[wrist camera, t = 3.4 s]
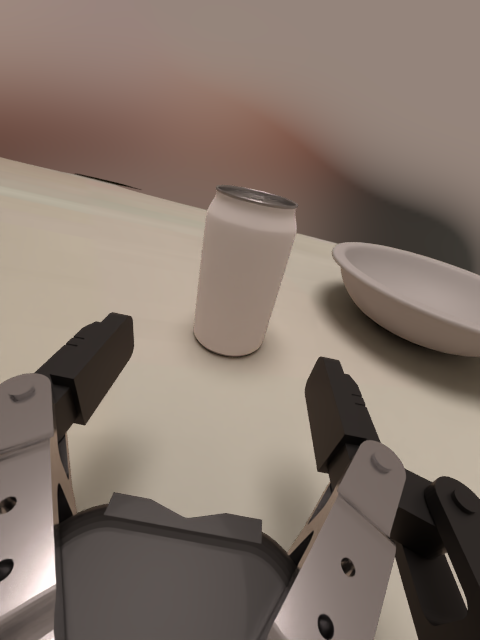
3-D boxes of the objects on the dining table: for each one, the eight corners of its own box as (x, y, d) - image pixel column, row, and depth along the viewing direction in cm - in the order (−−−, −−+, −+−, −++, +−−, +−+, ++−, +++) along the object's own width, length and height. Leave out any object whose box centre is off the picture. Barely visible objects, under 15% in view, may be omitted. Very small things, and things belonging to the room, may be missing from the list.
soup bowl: (381, 402, 20) (431, 337, 17) (290, 274, 40) (304, 231, 36) (582, 403, 26) (652, 355, 22) (415, 290, 45) (438, 254, 41)
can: (260, 322, 26) (296, 198, 20) (263, 365, 21) (314, 214, 15) (198, 311, 26) (215, 180, 19) (186, 352, 21) (202, 190, 14)
